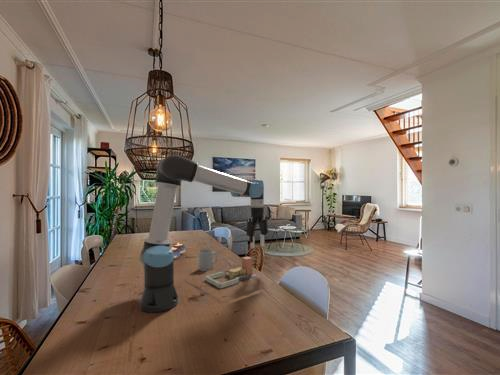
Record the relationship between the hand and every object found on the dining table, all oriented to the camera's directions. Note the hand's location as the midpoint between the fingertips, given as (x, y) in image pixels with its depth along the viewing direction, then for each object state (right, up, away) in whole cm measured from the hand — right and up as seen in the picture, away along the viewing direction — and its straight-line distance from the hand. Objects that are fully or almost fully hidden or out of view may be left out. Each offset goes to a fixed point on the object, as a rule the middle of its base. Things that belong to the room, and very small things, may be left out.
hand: (257, 246), depth 144 cm
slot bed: (-9, -15, -8) cm, 19 cm away
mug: (-30, -16, +9) cm, 35 cm away
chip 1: (-13, -14, -11) cm, 22 cm away
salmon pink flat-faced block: (-6, -14, -5) cm, 16 cm away
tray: (-19, -15, -16) cm, 29 cm away
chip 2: (-9, -14, -8) cm, 19 cm away
